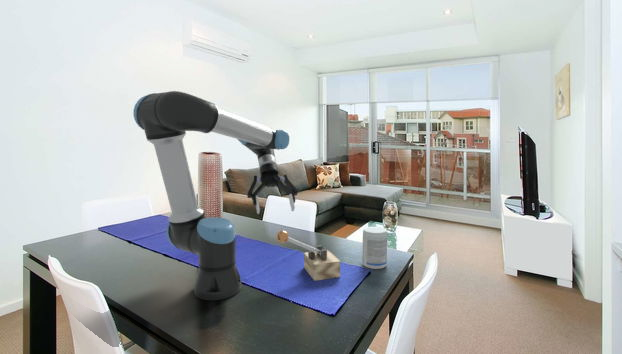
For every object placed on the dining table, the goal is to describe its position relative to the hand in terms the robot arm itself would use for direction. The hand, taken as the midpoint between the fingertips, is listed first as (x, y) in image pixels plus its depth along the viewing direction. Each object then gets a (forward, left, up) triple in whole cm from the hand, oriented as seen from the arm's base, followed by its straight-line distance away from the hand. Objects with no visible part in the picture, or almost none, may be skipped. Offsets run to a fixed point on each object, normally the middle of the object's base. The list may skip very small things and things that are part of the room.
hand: (276, 210), depth 119 cm
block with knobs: (+8, -16, -23) cm, 29 cm away
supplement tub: (+27, -28, -23) cm, 45 cm away
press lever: (+8, -16, -15) cm, 23 cm away
